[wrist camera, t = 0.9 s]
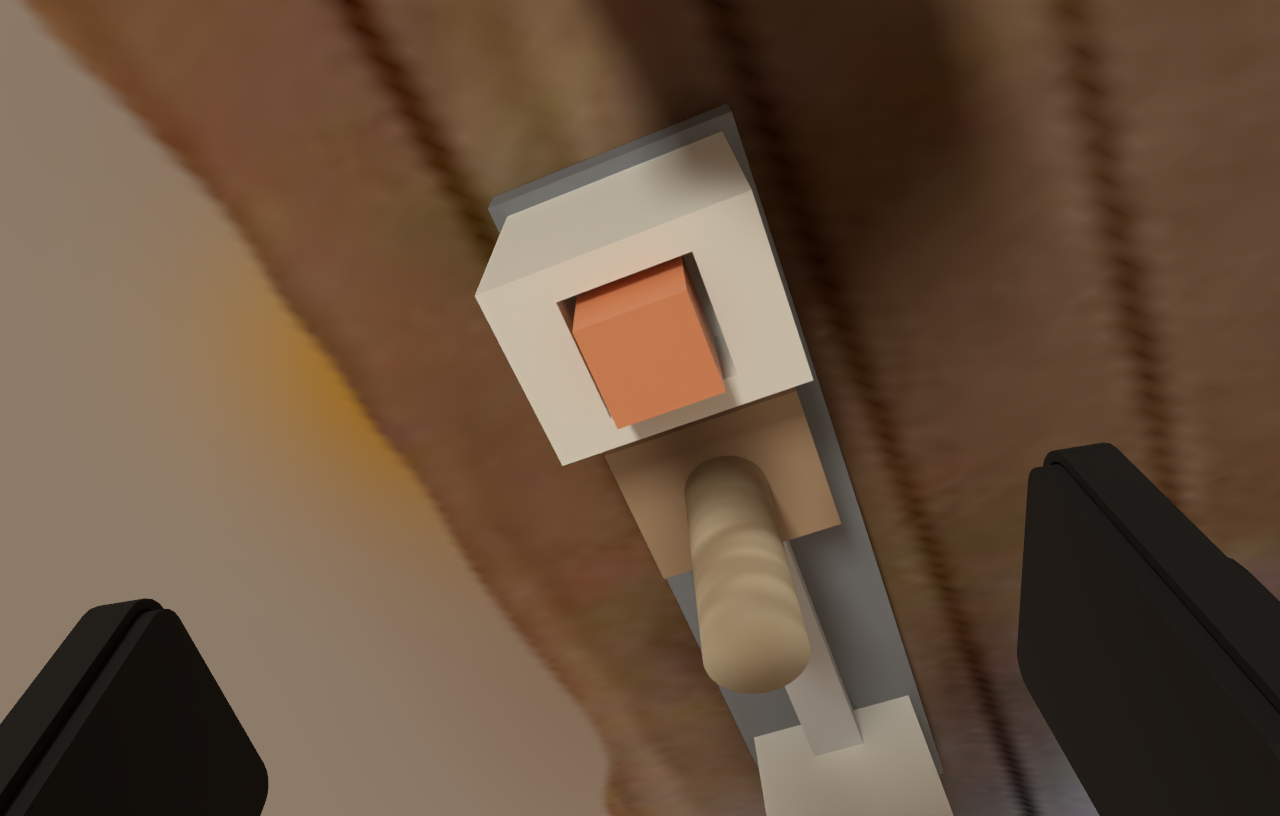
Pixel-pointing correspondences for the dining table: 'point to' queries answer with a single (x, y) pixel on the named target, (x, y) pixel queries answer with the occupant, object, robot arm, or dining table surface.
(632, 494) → the carriage
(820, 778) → the rail base
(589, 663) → the dining table surface
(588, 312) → the block
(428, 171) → the dining table surface
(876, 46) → the dining table surface
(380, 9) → the dining table surface
